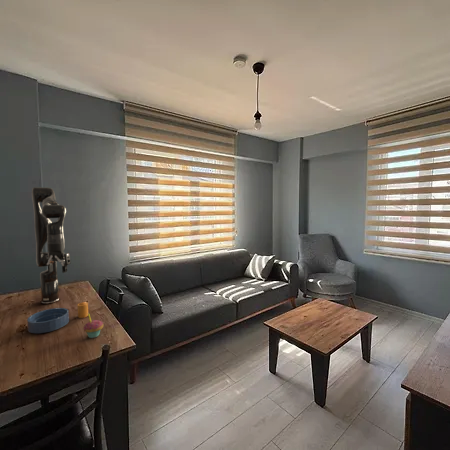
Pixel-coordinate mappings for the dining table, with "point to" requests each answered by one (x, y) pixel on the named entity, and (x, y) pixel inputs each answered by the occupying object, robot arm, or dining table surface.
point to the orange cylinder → (82, 309)
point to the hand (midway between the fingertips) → (57, 272)
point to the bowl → (48, 320)
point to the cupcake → (93, 327)
